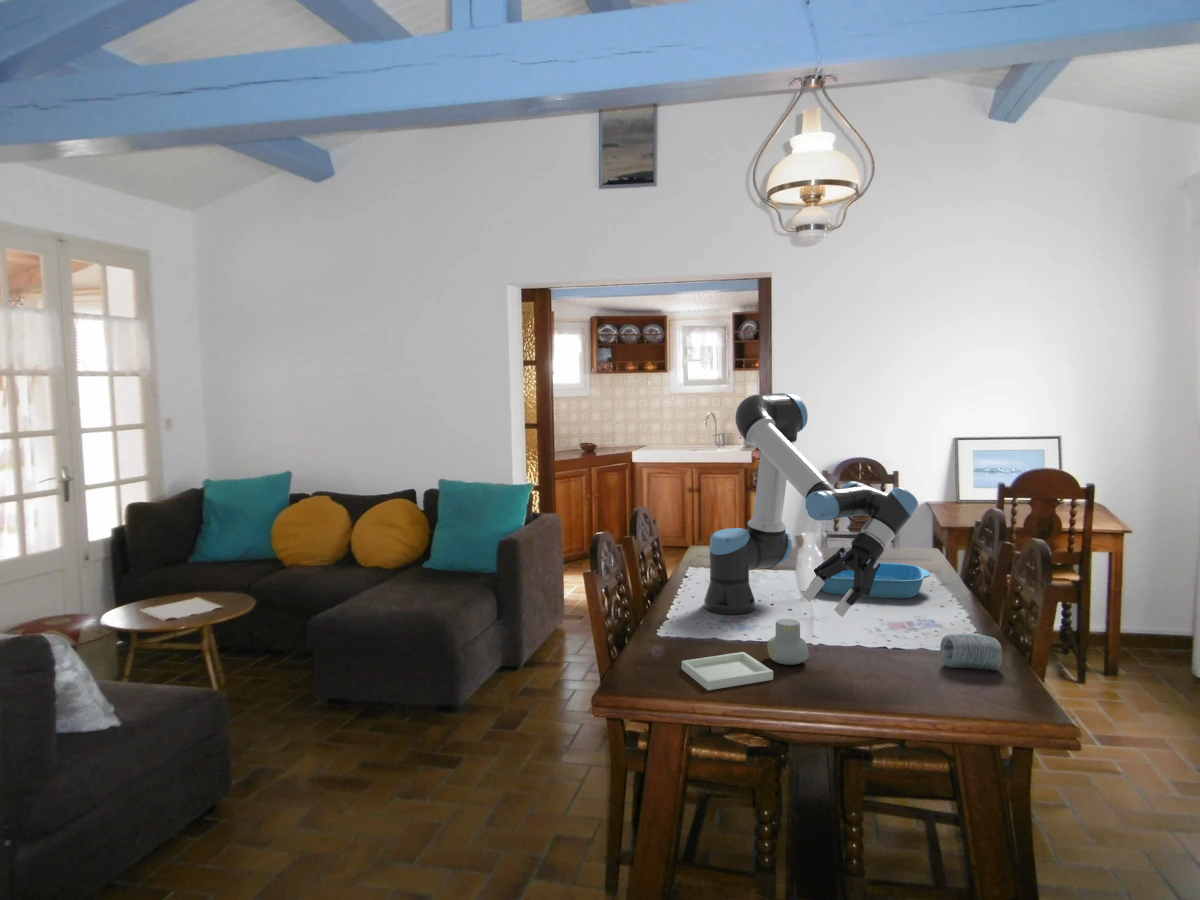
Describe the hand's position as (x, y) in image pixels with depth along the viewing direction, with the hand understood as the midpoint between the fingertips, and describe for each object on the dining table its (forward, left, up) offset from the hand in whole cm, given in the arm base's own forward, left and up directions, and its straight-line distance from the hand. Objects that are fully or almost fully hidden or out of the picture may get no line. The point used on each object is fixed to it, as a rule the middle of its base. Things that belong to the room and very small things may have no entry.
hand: (821, 605), depth 205 cm
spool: (+19, +29, -13) cm, 37 cm away
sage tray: (+1, -27, -14) cm, 30 cm away
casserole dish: (-46, +49, -14) cm, 68 cm away
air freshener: (-1, -9, -13) cm, 16 cm away
